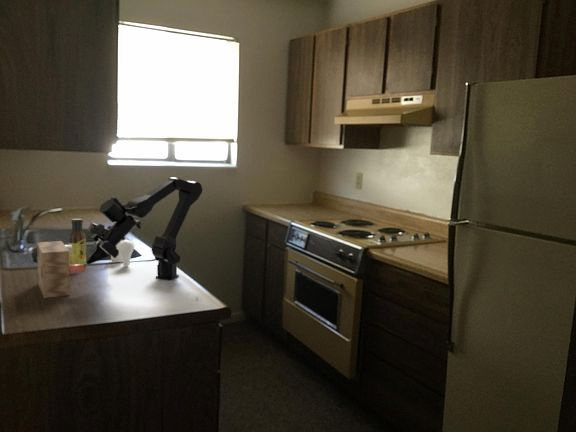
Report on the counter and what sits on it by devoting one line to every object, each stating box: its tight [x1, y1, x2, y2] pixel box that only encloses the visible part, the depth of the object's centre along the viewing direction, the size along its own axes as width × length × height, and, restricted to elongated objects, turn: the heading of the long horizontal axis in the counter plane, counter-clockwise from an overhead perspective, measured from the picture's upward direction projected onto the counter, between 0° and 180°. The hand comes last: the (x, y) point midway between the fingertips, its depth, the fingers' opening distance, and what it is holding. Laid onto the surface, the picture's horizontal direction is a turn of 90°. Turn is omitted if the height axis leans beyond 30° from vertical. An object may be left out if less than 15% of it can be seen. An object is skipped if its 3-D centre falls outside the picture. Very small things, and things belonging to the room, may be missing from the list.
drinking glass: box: [110, 236, 127, 263], centre depth 225 cm, size 7×7×10 cm
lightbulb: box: [118, 239, 135, 267], centre depth 216 cm, size 6×6×11 cm
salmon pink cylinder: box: [69, 264, 86, 275], centre depth 179 cm, size 7×3×3 cm, turn 120°
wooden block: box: [36, 240, 71, 299], centre depth 182 cm, size 8×18×15 cm, turn 30°
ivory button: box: [64, 244, 72, 253], centre depth 188 cm, size 7×3×3 cm, turn 120°
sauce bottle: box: [68, 218, 87, 269], centre depth 210 cm, size 6×6×20 cm
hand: (87, 263), depth 181 cm, fingers closed
